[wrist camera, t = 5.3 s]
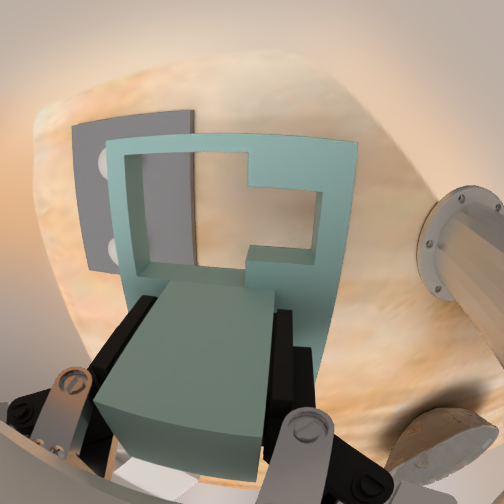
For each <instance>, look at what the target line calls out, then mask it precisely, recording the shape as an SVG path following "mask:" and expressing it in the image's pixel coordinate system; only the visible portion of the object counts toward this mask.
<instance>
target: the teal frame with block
mask: <svg viewBox="0 0 504 504" xmlns="http://www.w3.org/2000/svg"><path fill="white" fill-rule="evenodd" d="M357 149H358V143H356V142H350V141H342V140H334V139H325V138H315V137H304V136H292V135H276V134H253V133H193V134H170V135H155V136H142V137H131V138H122V139H114V140H107V141H106V162H107V177H108V190H109V200H110V209H111V218H112V226H113V233H114V240H115V246H116V253H117V258H118V264H119V270H120V275H121V280H122V285H123V290H124V295H125V299H126V304H127V308H128V312H129V311H130V310H131V309H132V307H133V306H134V305H135V304H136V302H137V301H138V300H139V298H140V297H141V296H142V295H149V296H156V297H157V298H158V299H157V301H156V302H155V304H154V305H153V307H152V308H151V310H150V311H149V313H148V314H147V316H146V317H145V319H144V320H143V322H142V323H141V325H140V326H139V328H138V329H137V331H136V332H135V334H134V335H133V337H132V338H131V340H130V341H129V343H128V345H127V346H126V348H125V349H124V351H123V352H122V354H121V355H120V357H119V359H118V360H117V362H116V363H115V365H114V367H113V368H112V370H111V371H110V373H109V375H108V376H107V378H106V380H105V381H104V383H103V384H102V386H101V388H100V389H99V391H98V393H97V394H96V396H95V398H94V399H93V401H94V403H95V405H96V406H97V408H98V410H99V412H100V413H101V415H102V416H103V418H104V420H105V421H106V423H107V424H108V426H109V428H110V429H111V431H112V432H113V434H114V435H115V437H116V438H117V440H118V441H119V442H120V444H121V445H122V447H123V448H124V450H125V451H126V452H127V454H128V455H129V456H130V457H133V458H136V459H140V460H143V461H146V462H149V463H153V464H156V465H160V466H164V467H168V468H172V469H176V470H180V471H185V472H189V473H194V474H199V475H204V476H210V477H216V478H223V479H230V480H238V481H247V482H256V479H257V472H258V465H259V458H260V451H261V444H262V436H263V427H264V417H265V407H266V396H267V385H268V374H269V363H270V351H271V339H272V326H273V313H277V309H287V310H292V312H293V346H302V347H311V349H312V359H313V373H314V385H315V381H316V378H317V374H318V370H319V367H320V363H321V359H322V355H323V351H324V348H325V344H326V340H327V335H328V331H329V327H330V323H331V318H332V314H333V309H334V305H335V300H336V295H337V290H338V285H339V280H340V275H341V269H342V264H343V258H344V252H345V246H346V240H347V234H348V227H349V220H350V213H351V206H352V198H353V189H354V180H355V171H356V160H357ZM170 152H249V155H248V187H266V188H282V189H296V190H309V191H317V199H316V209H315V219H314V228H313V237H312V246H311V249H298V248H284V247H270V246H256V245H250V247H249V251H248V254H247V258H246V268H245V270H243V269H231V268H218V267H206V266H194V265H183V264H171V263H160V262H150V254H149V246H148V237H147V227H146V217H145V205H144V191H143V173H142V154H148V153H170Z"/></svg>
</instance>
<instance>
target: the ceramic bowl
mask: <svg viewBox="0 0 504 504" xmlns="http://www.w3.org/2000/svg"><path fill="white" fill-rule="evenodd" d="M498 434H499V429H498V428H497V427H496V426H494V425H492V424H491V423H489V422H487V421H486V420H485V419H484V418H482V417H480V416H479V415H478V414H476V413H474V412H472V411H470V410H467V409H464V408H442V407H441V408H435V409H432V410H430V411H427V412H425V413H423V414H421V415H419V416H418V417H416V418H415V419H414V420H413V421H412V422H411V423H410V424H409V425H408V427H407V428H406V429H405V431H404V432H403V433H402V434H401V436H400V437H399V439H398V440H397V442H396V444H395V445H394V447H393V448H392V450H391V452H390V454H389V457H388V460H387V463H386V465H385V467H384V469H385V470H387V471H388V472H389V473H390V474H391V476H392V478H393V479H394V480H396V481H399V482H401V481H403V480H404V481H407V482H410V483H413V484H416V485H419V486H424V485H428V484H431V483H433V482H435V480H436V481H438V480H441V479H442V478H445V477H447V476H448V475H449V474H452V473H454V472H456V471H458V470H460V469H461V468H463V467H464V466H465V465H468V464H470V463H471V462H472V461H474V460H475V459H476V458H478V457H479V456H480V455H481V454H482V453H483V452H485V451H486V450H487V448H489V447H490V446H491V445H492V444H493V442H494V441H495V440H496V438H497V436H498Z"/></svg>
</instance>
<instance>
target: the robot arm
mask: <svg viewBox="0 0 504 504" xmlns="http://www.w3.org/2000/svg"><path fill="white" fill-rule="evenodd" d="M417 265H418V270H419V274H420V276H421V279H422V281H423V283H424V284H425V285H426V287H427V288H428V290H429V291H430V292H431V293H432V294H433V295H434V296H436V297H438V298H439V299H442V300H445V301H457V302H458V304H459V305H460V306H461V308H462V309H463V310H464V312H465V313H466V314H467V316H468V317H469V318H470V320H471V321H472V322H473V324H474V325H475V327H476V328H477V329H478V331H479V332H480V334H481V335H482V337H483V338H484V339H485V341H486V342H487V344H488V345H489V347H490V348H491V350H492V351H493V353H494V354H495V356H496V358H497V359H498V361H499V362H500V364H501V366H502V367H503V369H504V206H503V203H502V202H501V201H500V200H499V198H498V197H497V196H496V195H495V194H494V193H492V192H491V191H489V190H487V189H485V188H482V187H479V186H463V187H460V188H457V189H456V190H453V191H452V192H450V193H448V194H447V195H446V196H445V197H443V198H442V199H441V200H440V201H439V202H438V203H437V205H436V206H435V207H434V208H433V210H432V211H431V213H430V214H429V216H428V218H427V219H426V222H425V224H424V226H423V229H422V231H421V235H420V238H419V242H418V250H417ZM157 299H158V298H157V297H156V296H149V295H142V296H141V297H140V298H139V300H138V301H137V302H136V304H135V305H134V306H133V307H132V309H131V310H130V311H129V313H128V314H127V315H126V317H125V318H124V319H123V321H122V322H121V324H120V325H119V326H118V327H117V328H116V329H115V331H114V332H113V333H112V335H111V336H110V338H109V339H108V340H107V342H106V343H105V344H104V346H103V347H102V349H101V350H100V351H99V353H98V354H97V356H96V357H95V359H94V360H93V361H92V363H91V364H90V366H89V367H88V369H87V370H86V369H85V368H82V367H71V368H68V369H65V370H63V371H62V372H61V373H60V374H59V375H58V377H57V378H56V380H55V382H54V384H53V386H52V388H50V389H47V390H43V391H40V392H36V393H33V394H30V395H26V396H22V397H19V398H17V399H15V400H14V401H13V402H11V404H9V403H8V402H4V403H0V504H181V503H177V502H173V501H169V500H165V499H162V498H158V497H155V496H151V495H148V494H145V493H142V492H139V491H136V490H133V489H130V488H127V487H125V486H122V485H119V484H117V483H114V482H112V481H111V478H112V473H113V467H114V462H115V457H116V452H117V447H118V443H119V441H118V440H117V438H116V437H115V435H114V434H113V432H112V431H111V429H110V428H109V426H108V424H107V423H106V421H105V420H104V418H103V416H102V415H101V413H100V412H99V410H98V408H97V406H96V405H95V403H94V401H93V399H94V398H95V396H96V394H97V393H98V391H99V389H100V388H101V386H102V384H103V383H104V381H105V380H106V378H107V376H108V375H109V373H110V371H111V370H112V368H113V367H114V365H115V363H116V362H117V360H118V359H119V357H120V355H121V354H122V352H123V351H124V349H125V348H126V346H127V345H128V343H129V341H130V340H131V338H132V337H133V335H134V334H135V332H136V331H137V329H138V328H139V326H140V325H141V323H142V322H143V320H144V319H145V317H146V316H147V314H148V313H149V311H150V310H151V308H152V307H153V305H154V304H155V302H156V301H157ZM261 446H264V450H263V454H264V456H263V459H264V460H265V461H266V462H267V463H268V464H269V467H268V470H267V473H266V476H265V479H264V481H263V484H262V487H261V490H260V492H259V495H258V498H257V501H256V503H255V504H457V501H456V499H455V498H454V497H453V496H451V495H449V494H446V493H442V492H439V491H435V490H432V489H429V488H425V487H422V486H419V485H416V484H413V483H410V482H407V481H404V480H403V481H401V482H399V481H396V480H394V479H393V478H392V476H391V474H390V473H389V472H388V471H387V470H385V469H384V468H382V467H381V466H379V465H378V464H376V463H375V462H373V461H372V460H370V459H369V458H367V457H366V456H364V455H363V454H362V453H360V452H359V451H357V450H356V449H354V448H353V447H352V446H350V445H349V444H347V443H346V442H345V441H343V440H342V439H340V438H339V437H338V436H336V435H335V434H334V423H333V421H332V419H331V418H330V416H329V415H328V414H327V413H325V412H323V411H322V410H320V409H316V404H315V388H314V373H313V359H312V349H311V347H302V346H293V312H292V310H287V309H277V313H273V326H272V339H271V351H270V363H269V374H268V385H267V396H266V407H265V417H264V427H263V436H262V444H261ZM492 504H504V491H503V492H502V493H501V494H500V495H499V496H498V497H497V498H496V499H495V500H494V502H493V503H492Z"/></svg>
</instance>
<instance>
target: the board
mask: <svg viewBox="0 0 504 504" xmlns="http://www.w3.org/2000/svg"><path fill="white" fill-rule="evenodd" d="M193 133H194V111H193V110H183V111H169V112H158V113H148V114H140V115H132V116H125V117H118V118H111V119H105V120H100V121H94V122H89V123H84V124H79V125H74V126H72V149H73V166H74V178H75V188H76V197H77V205H78V213H79V219H80V226H81V232H82V238H83V243H84V248H85V253H86V258H87V263H88V267H89V270H91V271H99V272H106V273H113V274H120V270H119V264H118V258H117V253H116V246H115V240H114V233H113V226H112V218H111V209H110V200H109V190H108V177H107V162H106V141H107V140H114V139H122V138H131V137H142V136H155V135H170V134H193ZM142 173H143V191H144V205H145V217H146V227H147V237H148V246H149V254H150V262H160V263H171V264H183V265H194V266H197V258H196V237H195V210H194V152H170V153H148V154H142Z"/></svg>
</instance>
